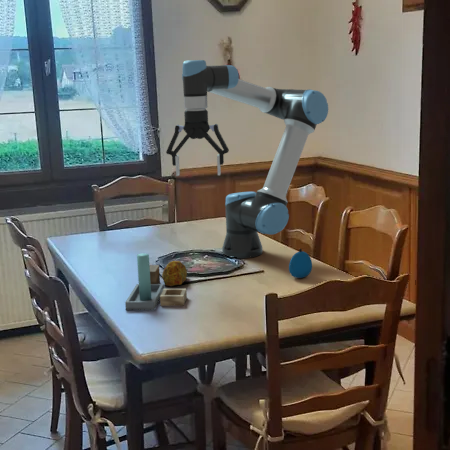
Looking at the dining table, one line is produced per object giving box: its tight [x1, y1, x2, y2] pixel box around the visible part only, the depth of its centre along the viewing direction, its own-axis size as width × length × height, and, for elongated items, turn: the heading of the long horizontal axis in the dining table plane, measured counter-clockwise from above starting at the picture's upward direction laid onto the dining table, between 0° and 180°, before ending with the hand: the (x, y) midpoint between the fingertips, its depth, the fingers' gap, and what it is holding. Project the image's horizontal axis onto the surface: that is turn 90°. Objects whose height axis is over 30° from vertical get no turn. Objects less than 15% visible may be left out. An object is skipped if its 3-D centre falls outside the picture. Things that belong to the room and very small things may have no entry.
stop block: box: [149, 264, 161, 284], centre depth 227 cm, size 3×7×6 cm, turn 175°
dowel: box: [136, 252, 151, 301], centre depth 212 cm, size 4×4×14 cm
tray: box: [124, 283, 165, 311], centre depth 213 cm, size 9×17×2 cm, turn 175°
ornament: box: [288, 248, 313, 279], centre depth 230 cm, size 8×5×10 cm, turn 111°
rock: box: [161, 260, 188, 287], centre depth 230 cm, size 11×8×10 cm
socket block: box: [159, 288, 188, 307], centre depth 212 cm, size 7×7×3 cm
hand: (198, 175), depth 227 cm, fingers open, 13 cm apart
